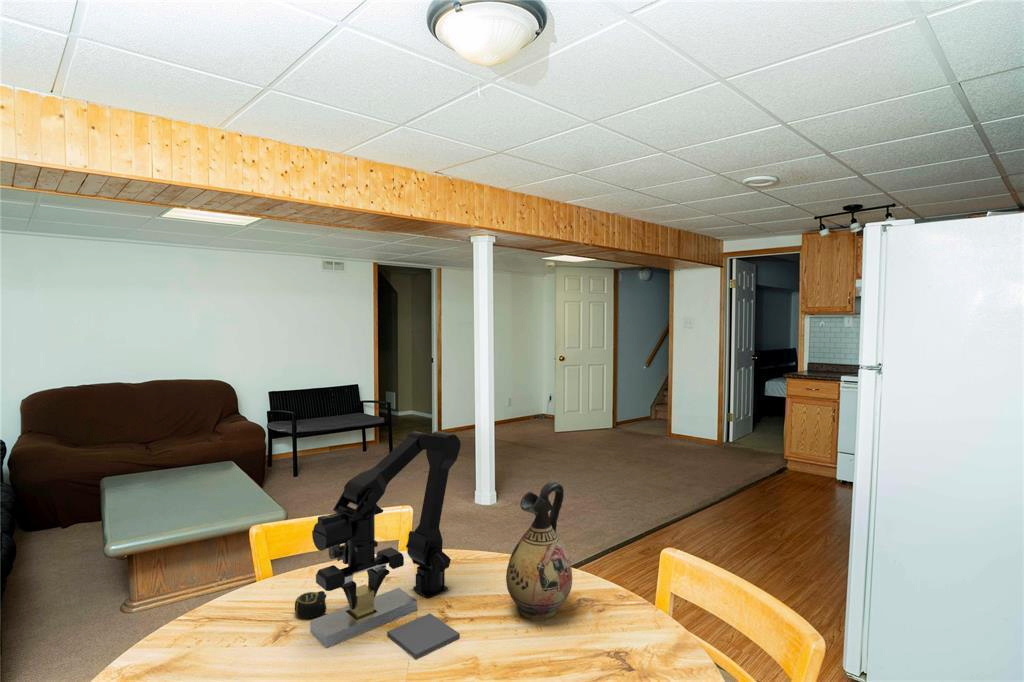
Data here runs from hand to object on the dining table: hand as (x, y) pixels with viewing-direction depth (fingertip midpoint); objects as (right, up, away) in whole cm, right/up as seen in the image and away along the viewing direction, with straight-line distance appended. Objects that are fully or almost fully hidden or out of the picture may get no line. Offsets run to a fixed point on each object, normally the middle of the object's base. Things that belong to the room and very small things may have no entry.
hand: (361, 605), depth 123 cm
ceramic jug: (+41, -4, +7) cm, 41 cm away
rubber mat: (+15, -4, -5) cm, 16 cm away
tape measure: (-12, -4, +5) cm, 14 cm away
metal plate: (+1, -4, +1) cm, 4 cm away
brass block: (0, -4, 0) cm, 4 cm away
